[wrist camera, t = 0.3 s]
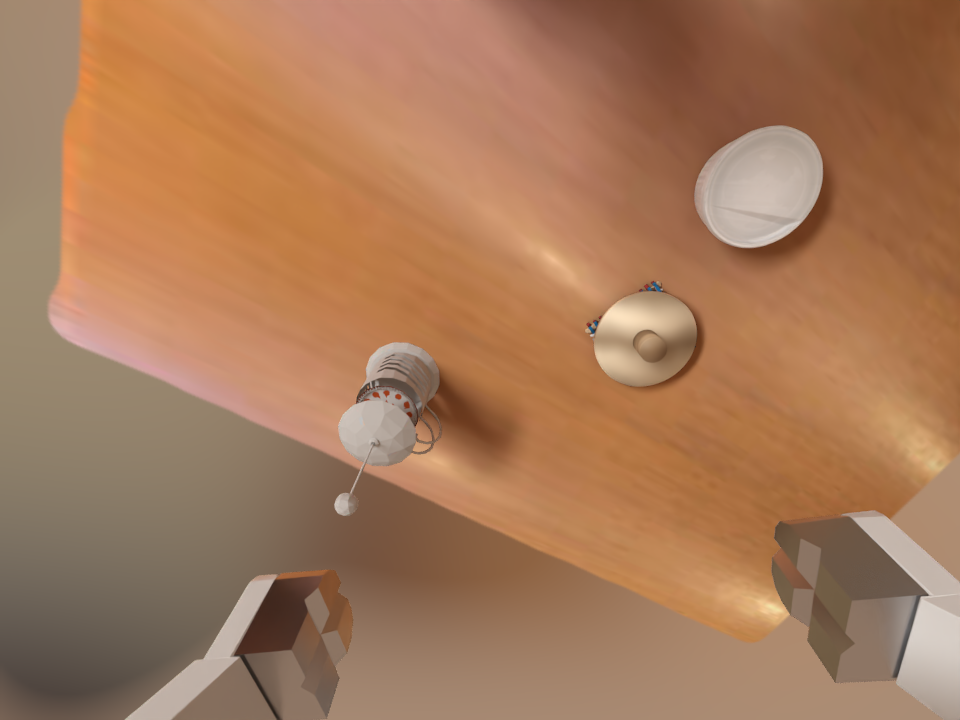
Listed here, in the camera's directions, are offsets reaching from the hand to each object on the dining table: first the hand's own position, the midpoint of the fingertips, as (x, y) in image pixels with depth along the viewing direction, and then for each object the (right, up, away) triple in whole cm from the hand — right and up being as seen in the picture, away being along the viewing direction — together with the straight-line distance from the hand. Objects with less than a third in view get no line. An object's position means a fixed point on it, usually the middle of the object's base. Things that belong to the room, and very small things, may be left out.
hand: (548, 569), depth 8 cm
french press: (-11, +1, +51) cm, 52 cm away
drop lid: (+19, +6, +46) cm, 50 cm away
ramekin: (+27, +23, +40) cm, 53 cm away
